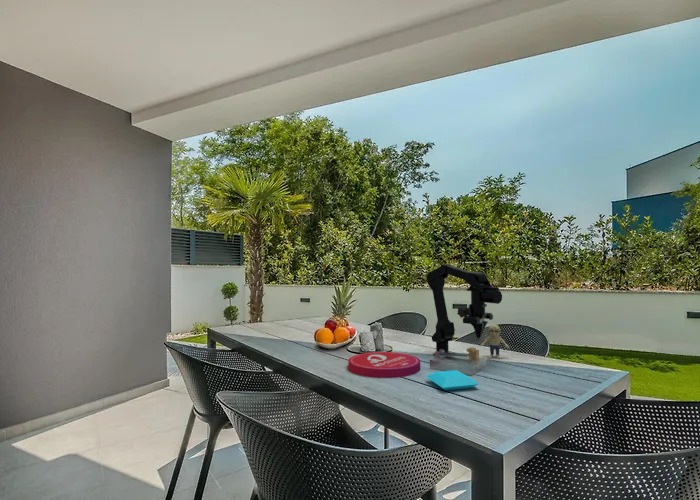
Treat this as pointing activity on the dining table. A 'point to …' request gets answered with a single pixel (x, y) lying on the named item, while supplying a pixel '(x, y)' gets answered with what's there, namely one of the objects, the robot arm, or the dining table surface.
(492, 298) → the robot arm
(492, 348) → the toy
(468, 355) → the strap
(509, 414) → the dining table surface
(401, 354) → the sign
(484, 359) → the grey piece
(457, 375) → the prism
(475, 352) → the tab
